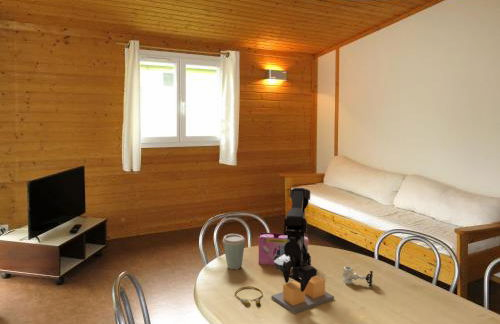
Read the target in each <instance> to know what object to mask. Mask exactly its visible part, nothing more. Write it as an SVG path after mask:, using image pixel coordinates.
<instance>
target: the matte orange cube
mask: <svg viewBox="0 0 500 324" xmlns="http://www.w3.org/2000/svg"><path fill="white" fill-rule="evenodd" d="M305 290H306V288H305ZM305 290H304V291H303V292H301V287H300V281H297V280H294V281H288V283H286V282H285V283H283V285H282V292H283V299H284V300H285V301H287V302H288V303H290V304H291V305H296V304H299V303H302V302H305Z"/></svg>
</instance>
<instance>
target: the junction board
mask: <svg viewBox="0 0 500 324" xmlns="http://www.w3.org/2000/svg"><path fill="white" fill-rule="evenodd" d="M270 296H271V298H270V299H272V300H273V301H274V302H276V303H278V304H279V305H281V307H284V308H285V309H286V310H288V311H289V312H291V313H293V314H296V313H299V312H302V311H305V310H307V309H311V308H313V307H316V306H319V305H321V304H324V303H327V302H329V301H332V300H334V299H335V296H334V295H333V294H331V293H329V292H327V291H326V280H325V279H324V278H321V277H320V276H318V275H316V276H314V277H312V278H311V279H310V281H309V282H308V284H307V286H306V290H305V302H302V303H299V304H296V305H291V304H290V303H288V302H287V301H285V300H284V299H283V291H281V292H278V293H275V294H273V295H272V294H271V295H270Z"/></svg>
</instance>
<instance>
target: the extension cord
mask: <svg viewBox="0 0 500 324" xmlns="http://www.w3.org/2000/svg"><path fill="white" fill-rule="evenodd" d="M242 288H245V289H246V288H254V289H253V290H256V289H257V291H258V290H259V291H258V292H260V294H261V295H260V296H258V297H257V298H254V299H250V300H251V302H253V301H252V300H254V301H255V305H256V306H257V305H258V307H260V306H261V299H262V297H263V296H264V293H263V291H262V290H261V289H259V288H258V287H255V286H241V287H240V288H238V289H236V291H235V292H234V294H235V296H236V297H237V299H238V298H239V299H238V300H240V299H241V303H242V302H243V303H242V304H243V305H244V304H245V305H244V306H246V307H248V305H249V306H251V305H252V304H251V302H249V301H247V300H248V299H244V298H241V297H239V296H238V295H237V293H238V292H239V291H238V290H240V289H242ZM237 291H238V292H237ZM236 292H237V293H236Z"/></svg>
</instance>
